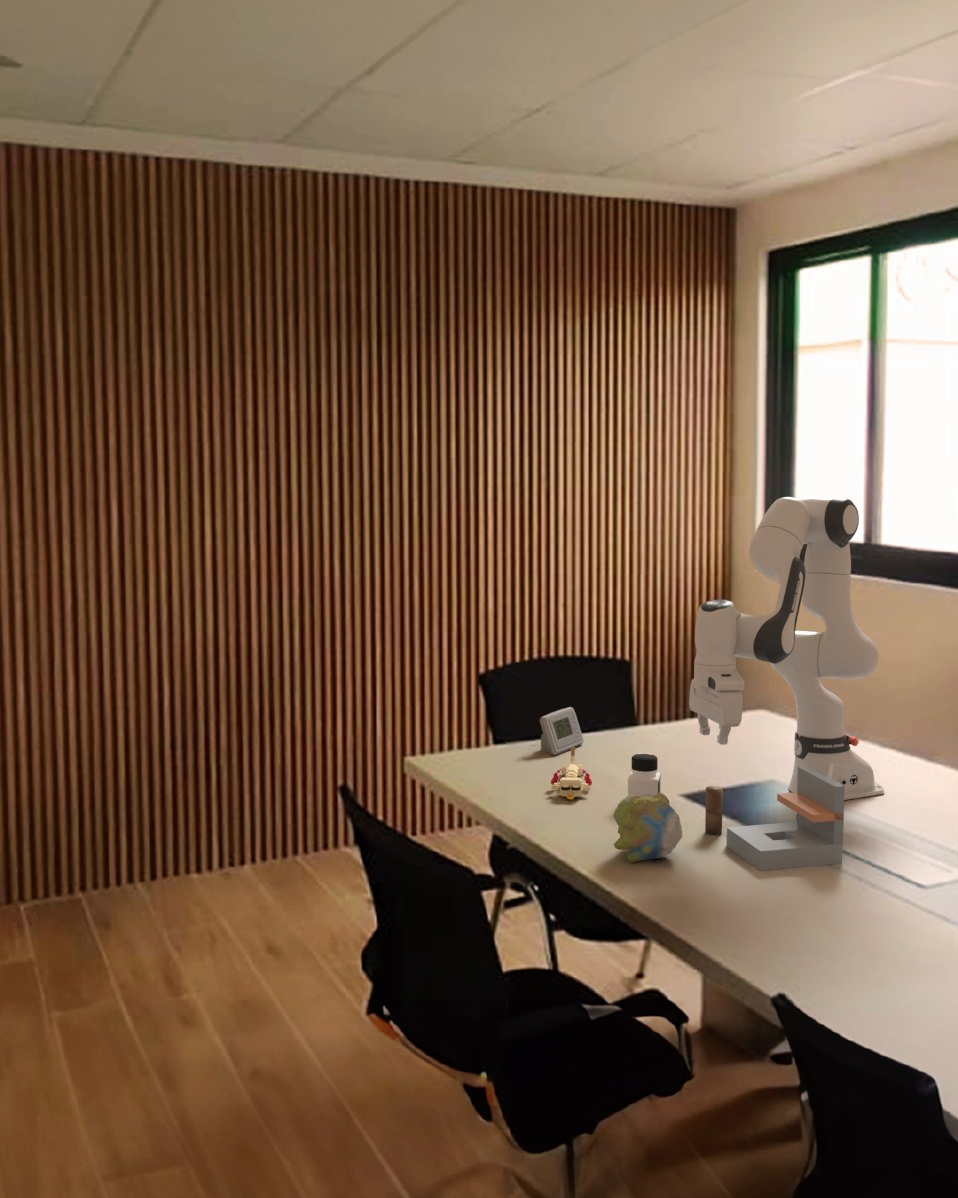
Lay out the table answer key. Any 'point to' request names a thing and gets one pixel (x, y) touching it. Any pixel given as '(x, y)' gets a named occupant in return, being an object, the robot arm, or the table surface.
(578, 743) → the digital clock
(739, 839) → the station
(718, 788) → the peg
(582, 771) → the cream toy figure
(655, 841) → the relief earth globe
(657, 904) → the table surface
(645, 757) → the medicine bottle
